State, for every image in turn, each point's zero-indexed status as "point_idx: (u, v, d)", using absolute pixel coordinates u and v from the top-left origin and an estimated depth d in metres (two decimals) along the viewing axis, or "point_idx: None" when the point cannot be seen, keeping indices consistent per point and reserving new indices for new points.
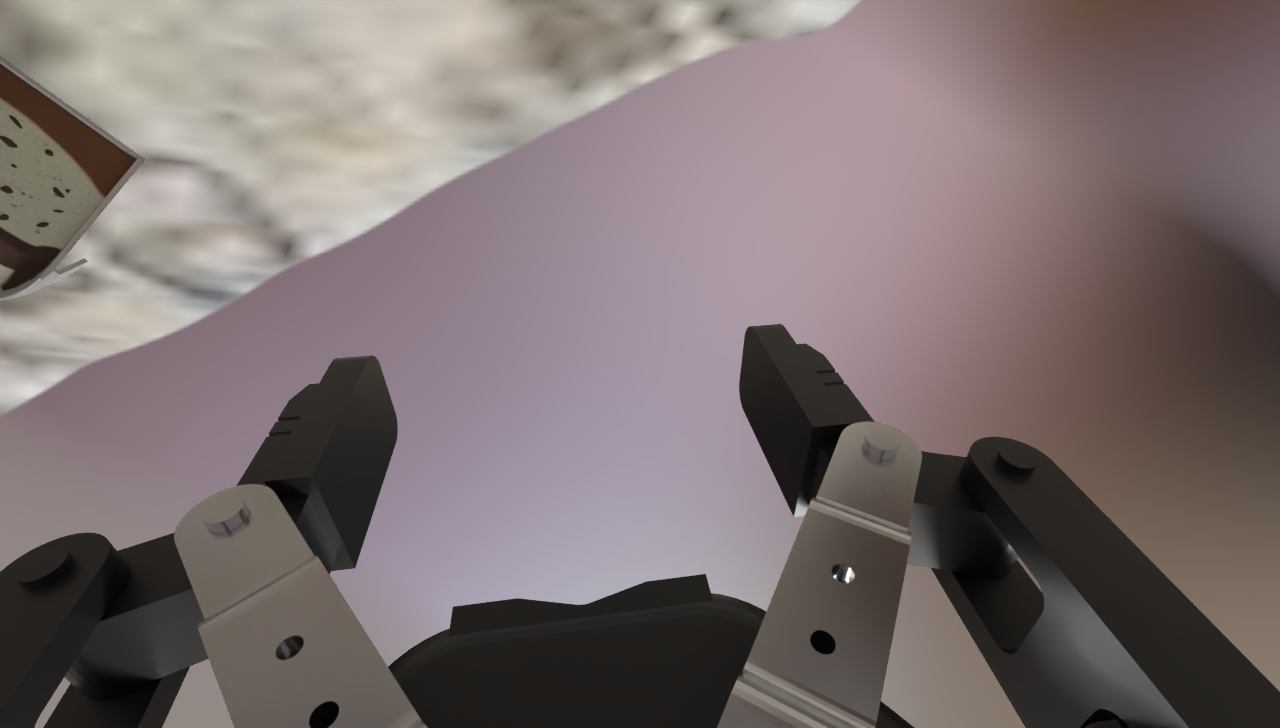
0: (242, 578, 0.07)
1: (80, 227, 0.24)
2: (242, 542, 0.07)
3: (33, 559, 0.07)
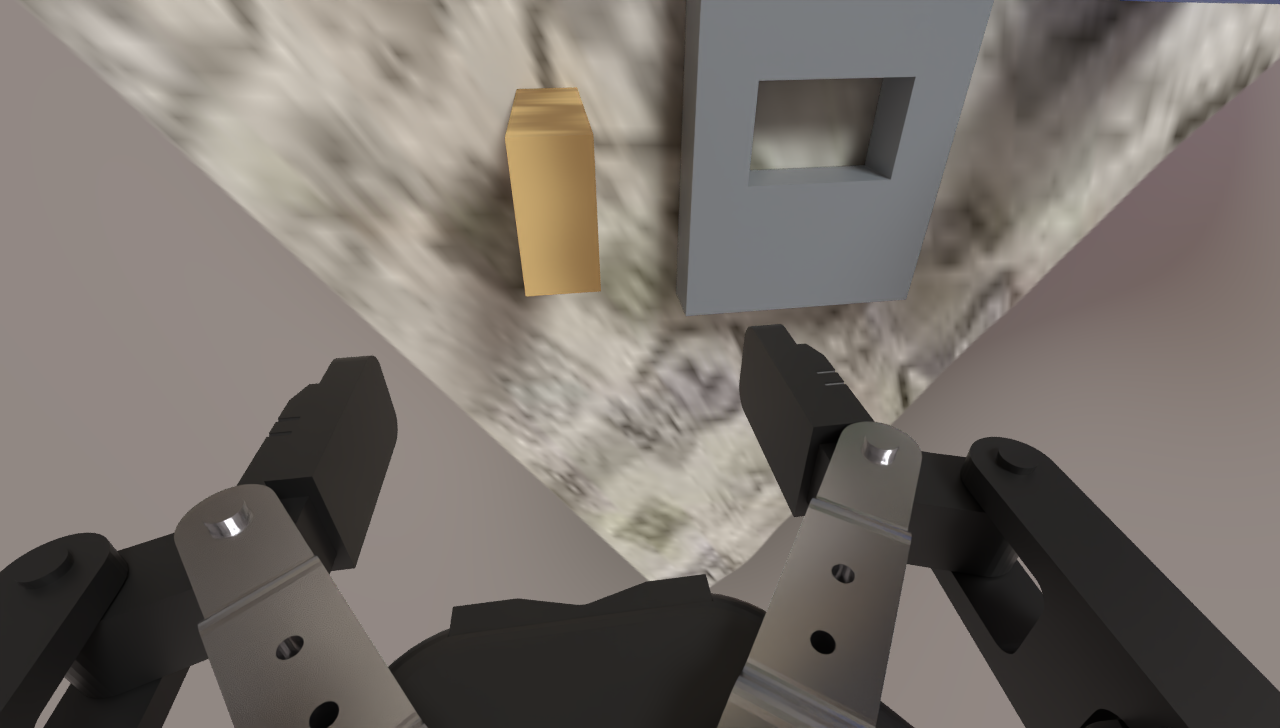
0: (242, 578, 0.07)
1: None
2: (242, 542, 0.07)
3: (33, 559, 0.07)
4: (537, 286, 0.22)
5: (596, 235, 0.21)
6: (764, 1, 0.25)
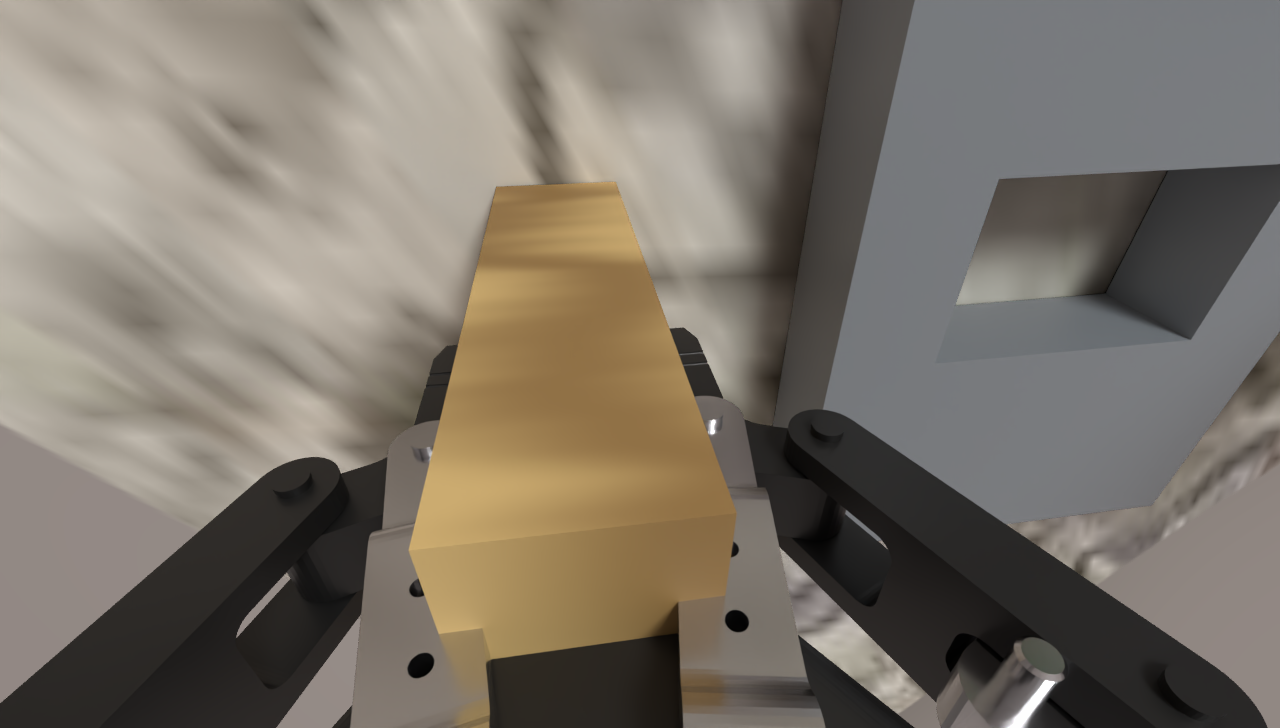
0: None
1: None
2: None
3: (287, 472, 0.08)
4: None
5: None
6: (1050, 12, 0.11)
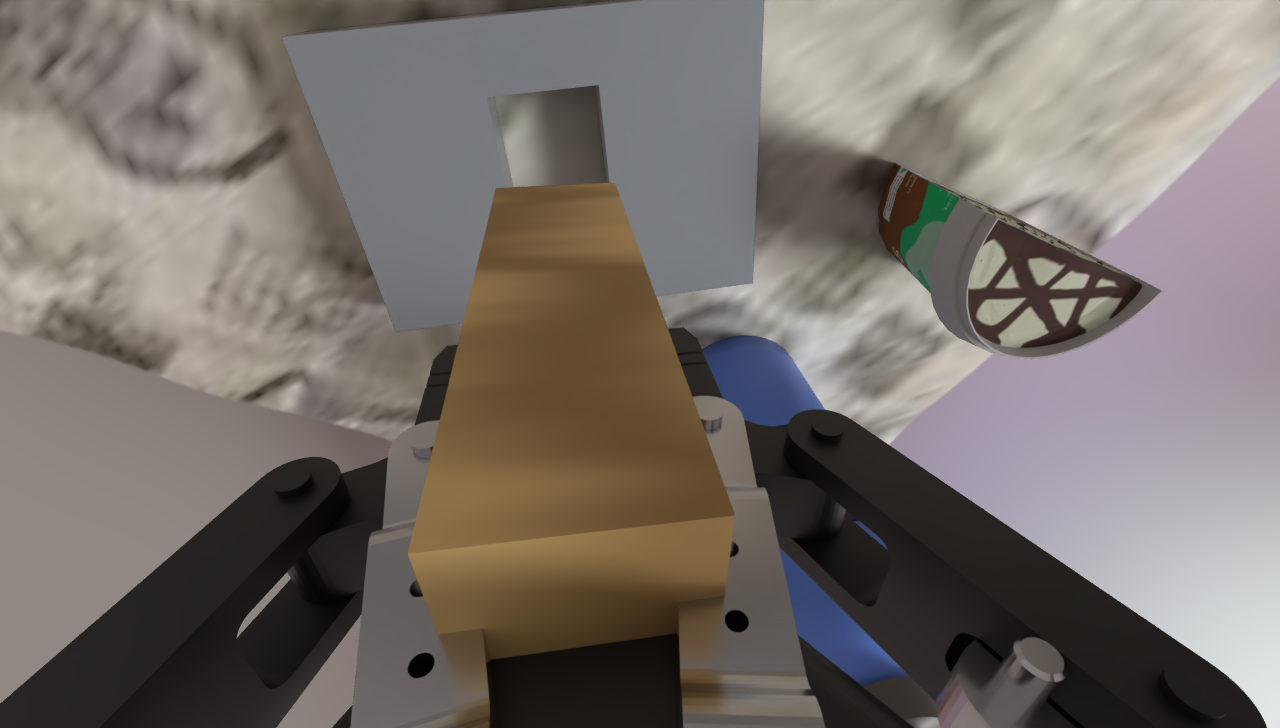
0: None
1: (1095, 259, 0.30)
2: None
3: (288, 471, 0.08)
4: None
5: None
6: (667, 74, 0.25)
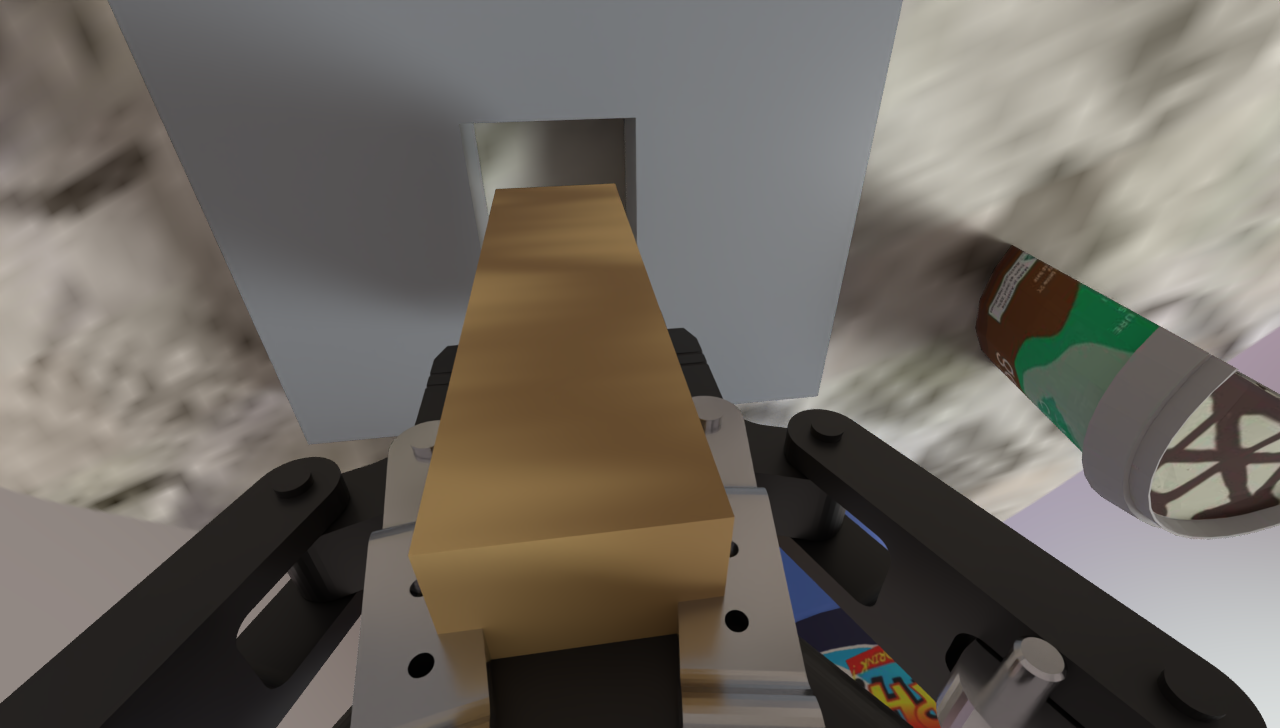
0: None
1: None
2: None
3: (288, 472, 0.08)
4: None
5: None
6: (741, 109, 0.17)
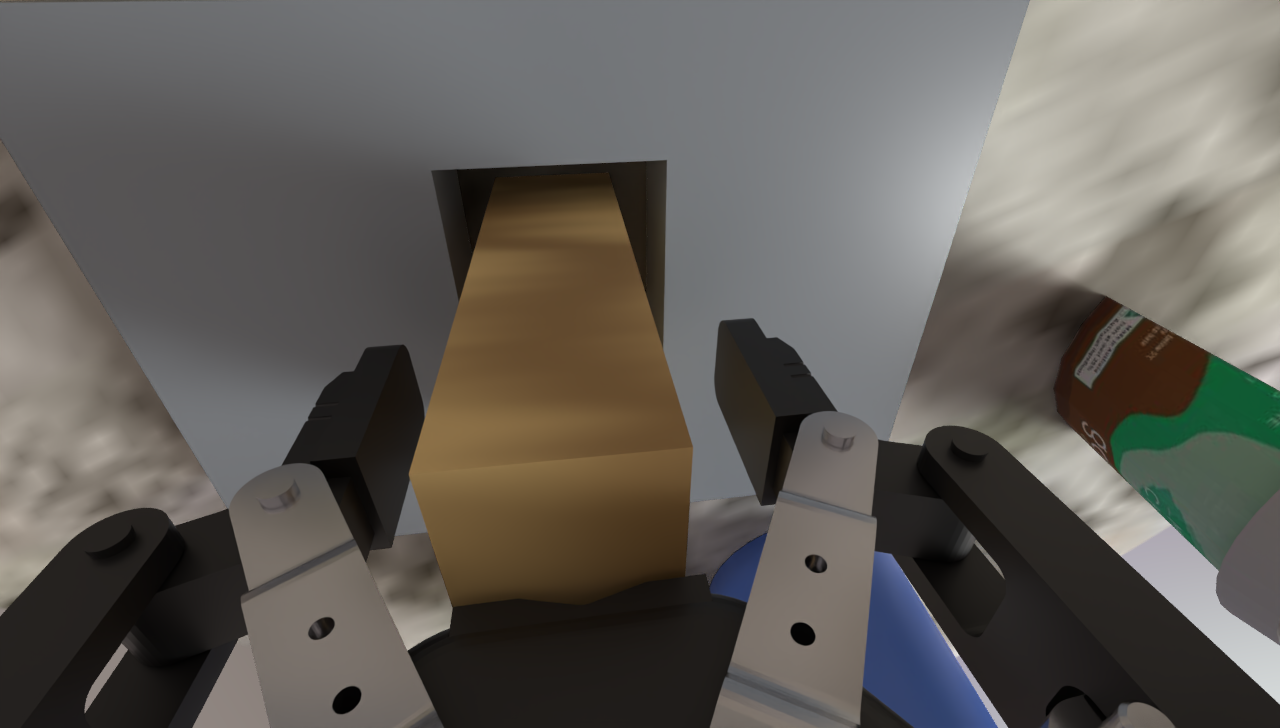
0: (298, 549, 0.07)
1: None
2: (289, 518, 0.08)
3: (100, 530, 0.07)
4: None
5: None
6: (805, 148, 0.13)
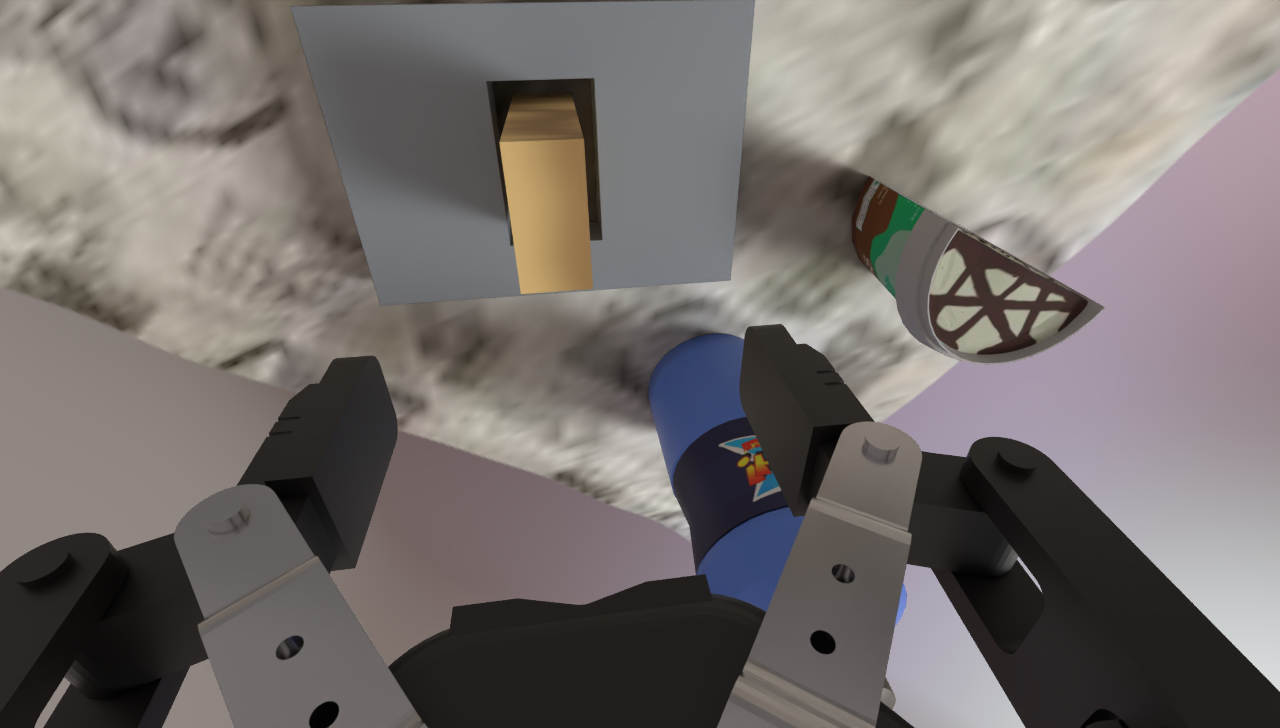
0: (241, 578, 0.07)
1: (1048, 277, 0.32)
2: (242, 541, 0.07)
3: (33, 559, 0.07)
4: (532, 284, 0.23)
5: (588, 235, 0.22)
6: (660, 73, 0.27)
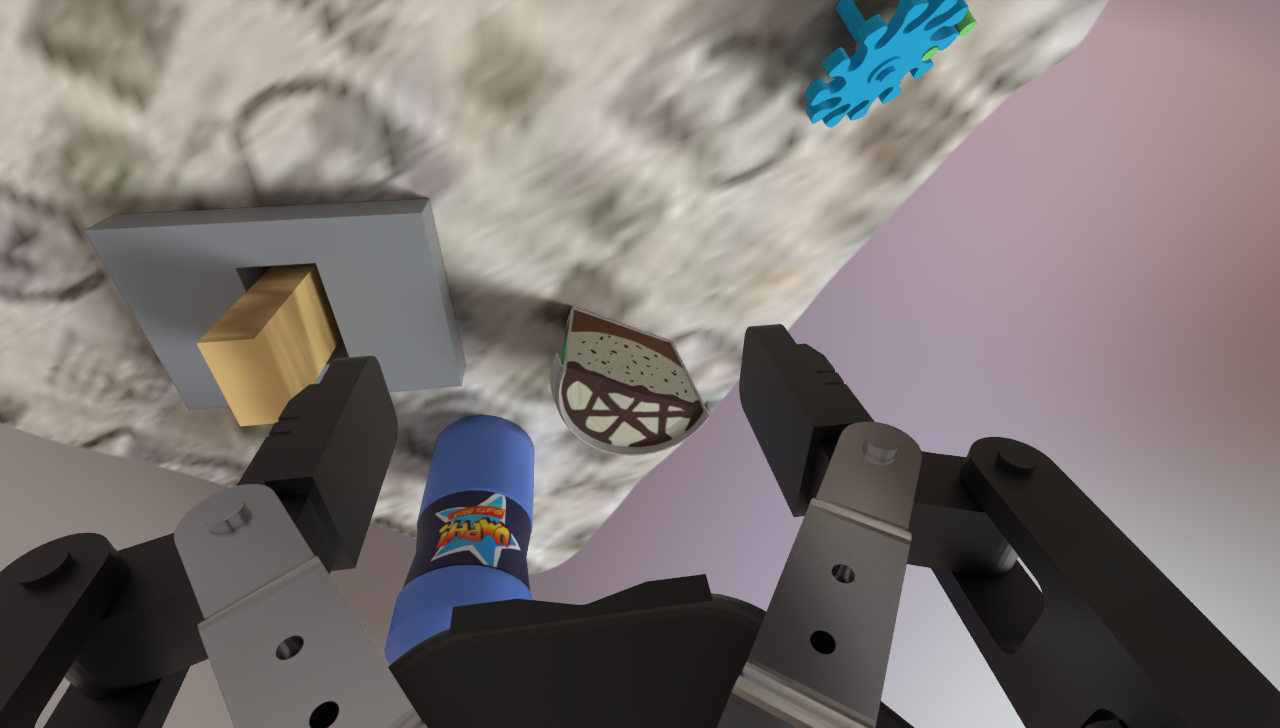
0: (241, 578, 0.07)
1: (692, 386, 0.43)
2: (242, 542, 0.07)
3: (33, 559, 0.07)
4: (246, 420, 0.34)
5: (277, 391, 0.33)
6: (364, 258, 0.38)
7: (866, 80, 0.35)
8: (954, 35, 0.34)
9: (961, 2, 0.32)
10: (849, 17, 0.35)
